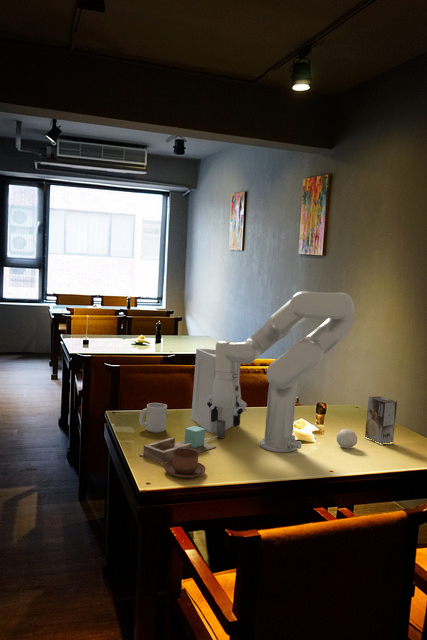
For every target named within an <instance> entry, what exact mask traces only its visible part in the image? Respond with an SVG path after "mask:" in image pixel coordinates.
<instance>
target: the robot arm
mask: <svg viewBox="0 0 427 640" xmlns="http://www.w3.org/2000/svg"><path fill="white" fill-rule="evenodd" d="M355 318H356V310H355V304H354V301H353V298H352V296H351V295H349V294H347V293H346V292H341V291H340V292H317V291H316V292H315V291H308V290H302V291H298V292H296V293H295V294H293V295H292V297H291V299H289V300H288V301H287V302H286V303H285V304H283V305H282V306H281V307H280V308H278V310H276V311H275V312H274V313H273V314H271V315H270V317H268V318H267V320H266V322H265V323H264V324H263V326H261V327H260V328H259V329H258V330H256V331H255V333H253V334H252V335H251V336H250V337H248V338H247V339H246V340H243V341H242V342H236V341H234V340H225V339H224V340H218V341H217V342H216V343H215V350H216V368H215V379H214V382H213V388H212V394H211V395H209V396H207V397H206V401H207V405H208V406H209V409H210V411H211V422H214V421H217V420H218V410H217V408H218V407H221V408H226V409H232V411H233V412H234V414H235V415H234V416H233V426H232V427H238V426H239V427H240V424H241V415H242V414H243V413H244V412H245V409H246V408H247V406H248V404H247V402H245V401H244V399H242V392H241V385H240V378H239V374H237V362H238V363H241V364H245V365H247V364H251V363H254V362H255V360H257V359H259V358H260V357H261V356H262V355H263V354H264V353H266V352H267V351H268V350H269V349H270V348H271V347H272V346H274V345H275V344H276V343H277V342H279V341H280V340H282V339H284V338H286V336H288V335H289V334H290V333H291V332H293V331H294V330H295V329H296V328H297V327H299V326H300V325H301V324H302V323H304V322H305V321H306V320H307V319H315V320H316V319H318V320H319V319H321V320H324V321H323V322H322V323H321V324H320V325H318V327H316V328H315V329H314V330H313V331H311V332H310V333H308V334H307V335H306V336H305V337H303V338H301V339H299V340H298V341H297V342H296V343H295V344H294V345H292V347H290V348H289V349H288V350H286V351H285V352H283V353H282V354H281V355H280V356H279V357H277V358H275V359H274V360H272V362H271V363H270V364H269V366H268V367H267V370H266V375H265V376H266V380H267V382H268V383H269V385H268V392H267V406H266V413H265V414H266V415H265V427H264V438H262V439H260V440H259V443H258V444H259V446H260V448H261V449H264V450H265V451H269V452H274V453H290V452H291V453H292V452H294V451H295V450H296V449H298V450H300V449H302V441H300V440H296V435H294V434H293V433H294V423H295V422H294V421H295V412H296V401H297V392H298V391H297V390H298V383H299V380H300V379H301V378H302V377H304V376H305V375H306V374H307V373H309V372H311V370H313V369H314V368H315V367H317V365H318V364H319V363H320V362H321V361H322V358H323V357H324V356H326V355H327V354H328V352H330V351H331V350H332V349H334V347H336V346H337V345H338V344H339V343H341V342H342V341H343V340H344V338H346V337H347V336H348V335H349V333H350V331H351V330H352V327H353V326H354V323H355ZM237 378H239V380H237ZM211 398H212V402H211Z"/></svg>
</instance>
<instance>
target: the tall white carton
mask: <svg viewBox="0 0 427 640" xmlns="http://www.w3.org/2000/svg"><path fill="white" fill-rule="evenodd" d="M195 350H196V351H195V364H194V375H193V377H194V378H193V388H192V389H193V392H192V404H191V418H190V419H191V420H192V421H194V423H196V424H197V425H199V427H201V428H204V429H205V431H207V432H208V433H210V434H211V433H215V434H216V426H217V421H214V422H211V411H210V409H209V406H208V405H207V401H206V397H207V396H209V395H211V394H212V388H213V382H214V379H215V368H216V349H213V348H211V349H210V348H196V349H195ZM241 365H242V363H238V362H237V374H239V378H237V380H239V381H240V376H241ZM211 402H212V398H211ZM217 410H218V420H225V421H226V426H225V431H226V430H228V429H230V428H232V427H234V426H233V416H234V415H235V414H234V412H233V411H232V409H226V408H221V407H218V408H217Z"/></svg>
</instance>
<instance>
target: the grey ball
mask: <svg viewBox="0 0 427 640" xmlns="http://www.w3.org/2000/svg"><path fill="white" fill-rule="evenodd" d="M336 443H337V444H338V446H340V447H341V448H344V449H351V448H353V447H354V446H355V445H357V444H358V436H357V434H356V433H355V432H354V431H353V430H352V429H350V428H342V429H340V430H338V432H337V434H336Z"/></svg>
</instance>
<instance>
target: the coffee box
mask: <svg viewBox="0 0 427 640" xmlns="http://www.w3.org/2000/svg"><path fill="white" fill-rule="evenodd" d="M367 401H368V402H367V412H366V419H365V420H366V422H365V431H364V438H365V437H367V438H369V439H372V440H374V441H376V442H379V443H381V444H383V443H390V442H393V443H394V438H395V427H396V417H397V407H398V406H397V405H398V401H395V400H393V399H390V398H386V397H383V396H369V397H368V400H367Z"/></svg>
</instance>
